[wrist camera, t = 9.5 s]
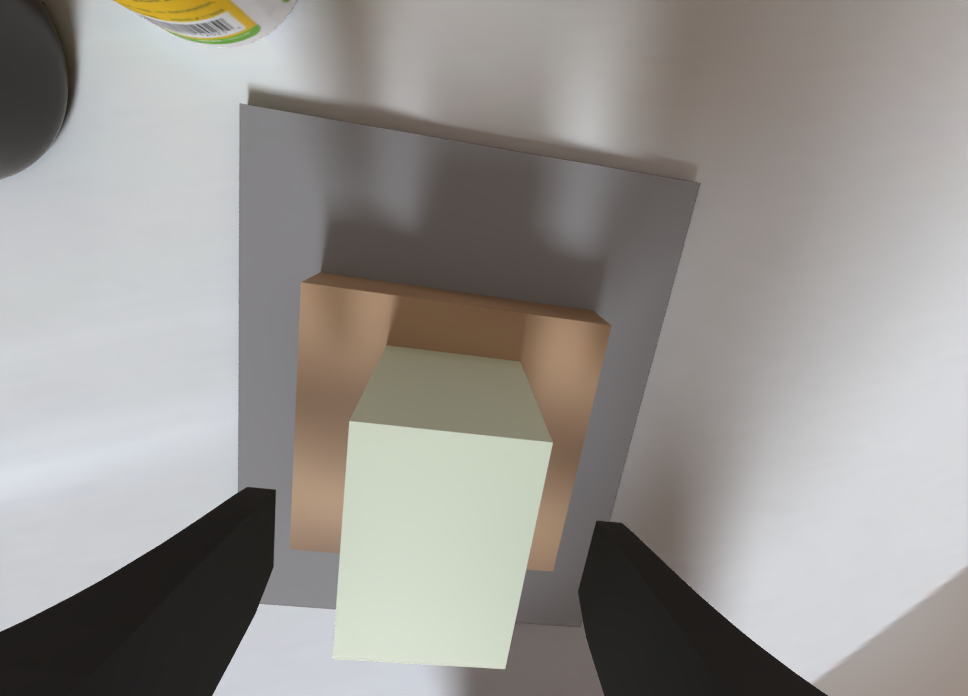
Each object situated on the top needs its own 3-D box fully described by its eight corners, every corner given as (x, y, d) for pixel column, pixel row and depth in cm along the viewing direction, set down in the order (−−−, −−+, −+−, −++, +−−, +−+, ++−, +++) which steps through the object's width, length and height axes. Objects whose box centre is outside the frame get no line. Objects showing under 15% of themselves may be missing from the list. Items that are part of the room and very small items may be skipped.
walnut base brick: (543, 533, 18) (552, 571, 17) (307, 511, 18) (289, 549, 16) (592, 310, 16) (611, 325, 14) (320, 272, 15) (300, 282, 13)
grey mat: (577, 617, 20) (580, 627, 20) (243, 592, 19) (237, 602, 19) (692, 183, 15) (700, 183, 15) (247, 106, 14) (239, 103, 14)
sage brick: (490, 528, 16) (505, 669, 11) (370, 518, 16) (332, 659, 11) (520, 361, 14) (552, 442, 9) (386, 345, 14) (349, 420, 9)
